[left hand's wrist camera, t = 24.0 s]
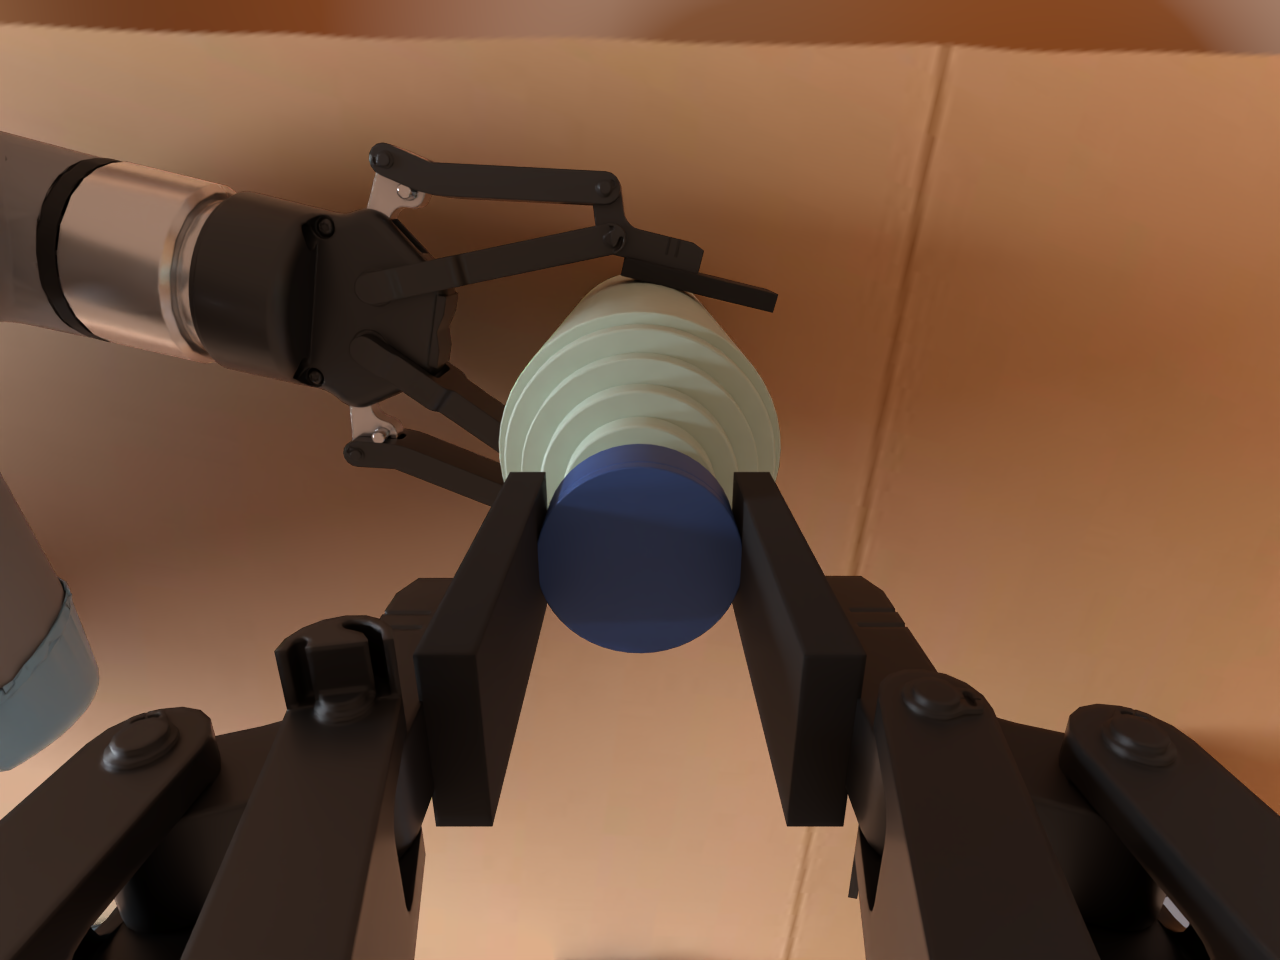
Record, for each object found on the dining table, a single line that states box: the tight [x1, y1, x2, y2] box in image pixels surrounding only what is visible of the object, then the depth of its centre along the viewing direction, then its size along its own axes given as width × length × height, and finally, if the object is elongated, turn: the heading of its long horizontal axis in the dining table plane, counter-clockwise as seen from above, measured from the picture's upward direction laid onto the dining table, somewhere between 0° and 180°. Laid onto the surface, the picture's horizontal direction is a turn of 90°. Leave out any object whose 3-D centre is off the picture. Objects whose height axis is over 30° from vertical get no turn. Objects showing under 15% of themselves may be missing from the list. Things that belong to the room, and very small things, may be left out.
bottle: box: [499, 275, 781, 509], centre depth 25 cm, size 8×8×24 cm
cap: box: [537, 444, 742, 653], centre depth 14 cm, size 4×4×2 cm
